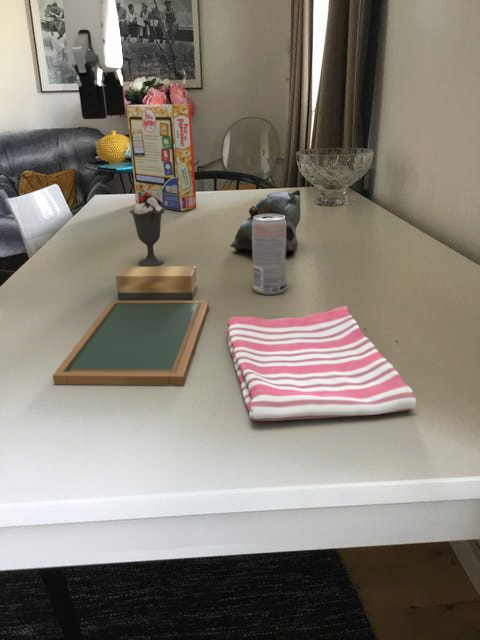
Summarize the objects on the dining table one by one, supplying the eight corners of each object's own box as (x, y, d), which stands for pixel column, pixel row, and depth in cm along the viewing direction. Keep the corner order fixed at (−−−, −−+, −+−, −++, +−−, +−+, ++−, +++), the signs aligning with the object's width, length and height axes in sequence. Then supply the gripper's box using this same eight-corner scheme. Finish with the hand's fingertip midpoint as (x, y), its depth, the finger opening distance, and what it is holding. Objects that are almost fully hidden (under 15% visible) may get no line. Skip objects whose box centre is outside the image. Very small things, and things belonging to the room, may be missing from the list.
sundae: (139, 269, 105) (131, 187, 99) (130, 260, 110) (122, 182, 105) (173, 264, 107) (167, 184, 101) (163, 255, 113) (156, 179, 107)
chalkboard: (54, 384, 65) (52, 375, 64) (112, 308, 87) (111, 300, 86) (183, 385, 64) (183, 376, 63) (209, 307, 86) (208, 300, 85)
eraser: (118, 300, 90) (115, 276, 88) (126, 289, 95) (123, 266, 93) (192, 299, 89) (191, 275, 88) (197, 289, 94) (195, 266, 92)
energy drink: (281, 283, 95) (281, 212, 91) (289, 294, 90) (290, 219, 86) (250, 286, 94) (248, 214, 90) (256, 296, 90) (255, 221, 85)
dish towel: (347, 326, 78) (348, 302, 77) (418, 416, 57) (422, 385, 55) (224, 335, 76) (223, 311, 75) (250, 432, 55) (249, 401, 53)
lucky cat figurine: (221, 247, 117) (237, 183, 117) (271, 263, 122) (286, 201, 122) (252, 242, 103) (269, 169, 104) (307, 260, 108) (323, 190, 109)
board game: (197, 208, 156) (191, 103, 145) (180, 212, 151) (172, 104, 141) (151, 200, 169) (142, 103, 158) (134, 203, 165) (124, 104, 154)
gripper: (82, -13, 81) (98, 114, 88) (33, -36, 65) (57, 121, 72) (133, -15, 80) (145, 113, 87) (97, -39, 65) (115, 119, 71)
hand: (105, 116), depth 79 cm, fingers open, 9 cm apart
